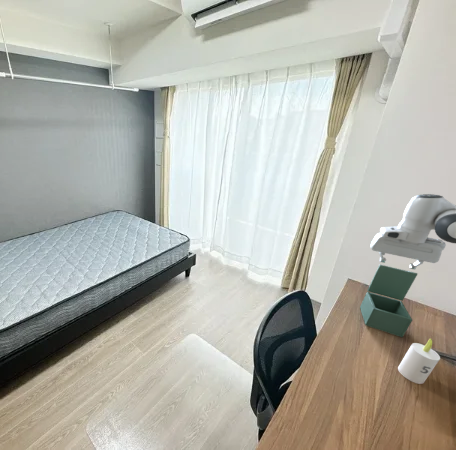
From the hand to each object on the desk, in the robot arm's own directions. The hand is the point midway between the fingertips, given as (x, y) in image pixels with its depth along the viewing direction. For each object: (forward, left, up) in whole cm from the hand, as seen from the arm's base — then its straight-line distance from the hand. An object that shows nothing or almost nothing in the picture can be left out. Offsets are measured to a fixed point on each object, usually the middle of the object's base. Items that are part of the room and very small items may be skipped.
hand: (396, 265), depth 100 cm
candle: (-3, +35, -23) cm, 42 cm away
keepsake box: (0, +9, -23) cm, 25 cm away
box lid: (0, +3, -7) cm, 8 cm away
